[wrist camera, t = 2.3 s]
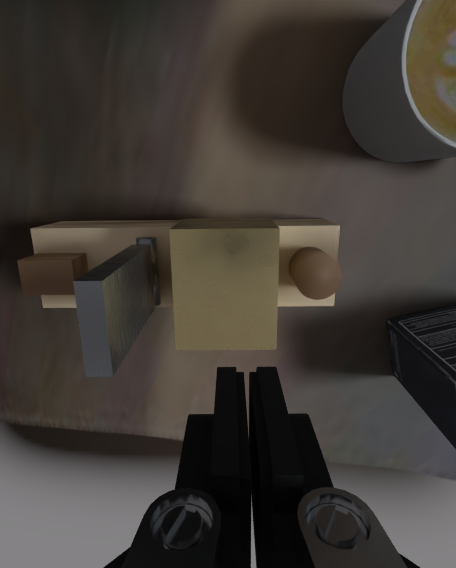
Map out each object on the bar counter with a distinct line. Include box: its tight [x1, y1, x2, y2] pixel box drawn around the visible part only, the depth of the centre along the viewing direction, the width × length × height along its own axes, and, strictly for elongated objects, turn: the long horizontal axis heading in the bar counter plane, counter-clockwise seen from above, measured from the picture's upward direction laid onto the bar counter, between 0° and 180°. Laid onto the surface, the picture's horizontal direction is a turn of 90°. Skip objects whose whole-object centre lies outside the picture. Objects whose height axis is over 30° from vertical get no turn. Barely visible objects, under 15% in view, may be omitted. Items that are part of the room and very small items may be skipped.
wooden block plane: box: [17, 218, 342, 308], centre depth 27 cm, size 6×22×8 cm, turn 91°
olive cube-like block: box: [169, 218, 280, 350], centre depth 23 cm, size 7×6×6 cm
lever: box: [73, 236, 161, 377], centre depth 21 cm, size 5×1×11 cm, turn 1°
